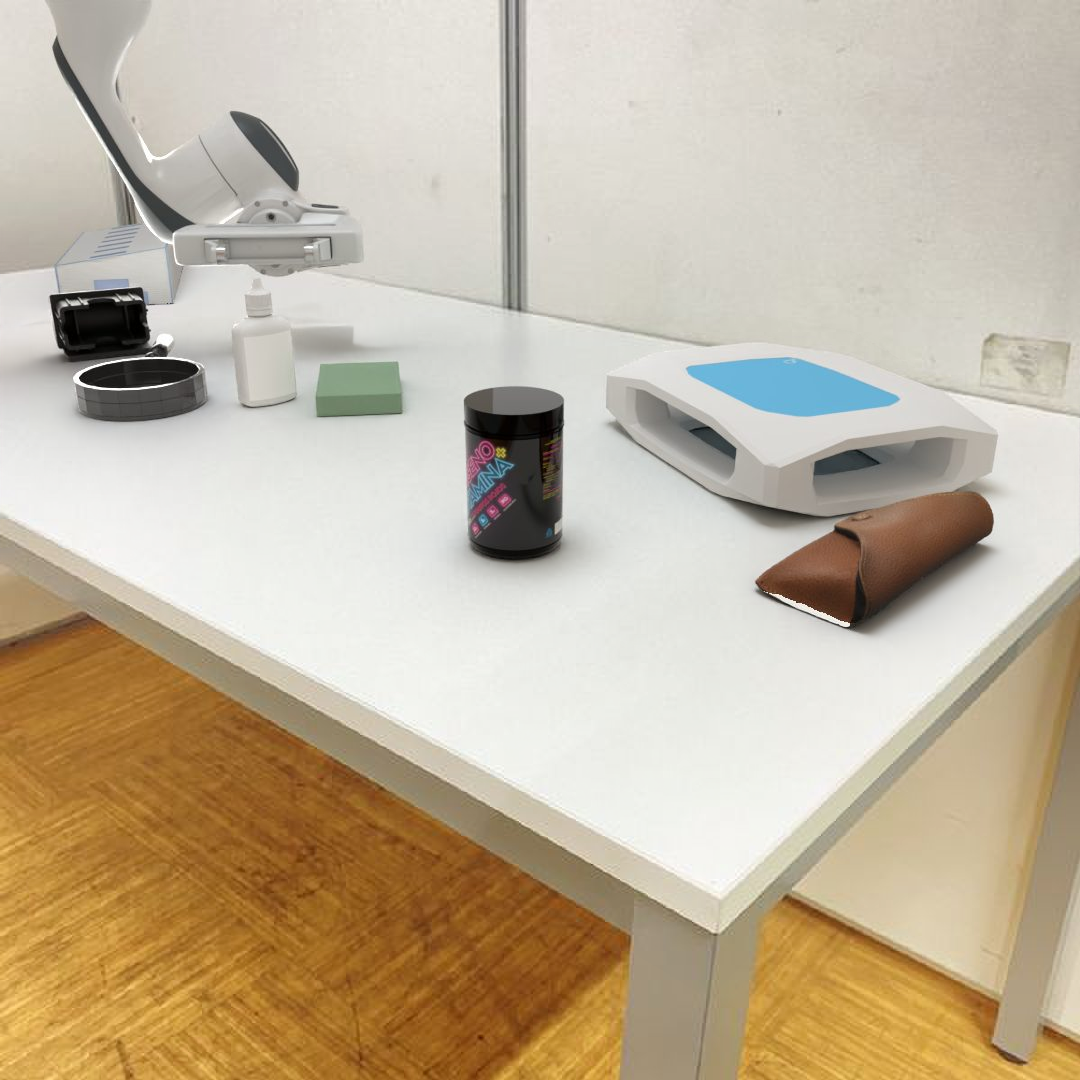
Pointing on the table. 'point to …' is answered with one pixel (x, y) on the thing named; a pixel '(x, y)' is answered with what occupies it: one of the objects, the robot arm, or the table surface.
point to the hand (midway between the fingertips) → (265, 255)
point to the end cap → (100, 323)
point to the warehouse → (120, 263)
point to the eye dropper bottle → (263, 352)
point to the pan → (140, 389)
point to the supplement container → (514, 470)
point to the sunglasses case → (879, 554)
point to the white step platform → (799, 426)
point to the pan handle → (161, 347)
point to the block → (358, 389)
